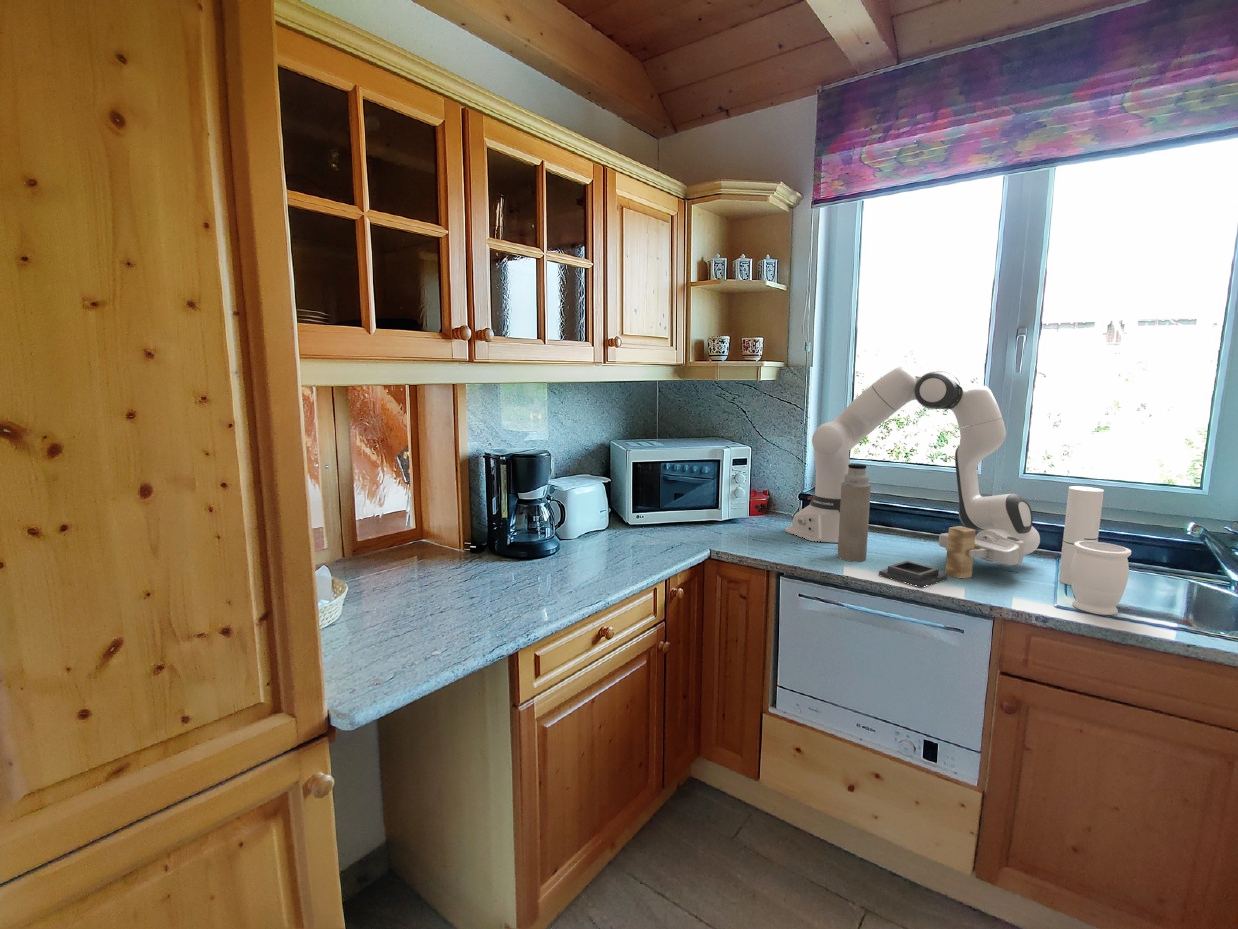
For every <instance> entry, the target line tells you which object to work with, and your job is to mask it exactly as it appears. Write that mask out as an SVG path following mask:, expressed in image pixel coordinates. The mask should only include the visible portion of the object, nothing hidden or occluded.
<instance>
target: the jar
mask: <svg viewBox="0 0 1238 929" xmlns="http://www.w3.org/2000/svg"><path fill="white" fill-rule="evenodd" d="M1074 548H1075V549H1076V552H1075V554H1074V557H1073V560H1072V565H1071V579H1072V585H1071V588H1072V589H1071V590H1072V593H1073V596H1074V597H1075V599H1074V600H1073V601H1072V603H1071V604H1072V606H1073V607H1075V608H1076V609H1078V610H1079V611H1083V612H1085V613H1088V614H1089V613H1090V614H1094V615H1099V616H1100V615H1102V616H1114V615H1117V614H1118V613H1119V611H1118V608H1117V607H1116V606H1117V605H1118V604H1119V603H1120V601H1121V600H1122V598H1123V595H1124V592H1125V590H1126V586H1127V584H1128V581H1129V574H1130V572H1129V571H1130V568H1129V559H1128V558H1129V557H1130V556H1131V555H1132V550H1131V549H1130V548H1127V547H1125V546H1123V545H1122V546H1121V545H1118V544H1113V543H1109V542H1102V541H1098V542H1095V541H1078V542H1075V543H1074Z"/></svg>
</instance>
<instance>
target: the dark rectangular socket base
mask: <svg viewBox="0 0 1238 929" xmlns="http://www.w3.org/2000/svg"><path fill="white" fill-rule="evenodd" d="M939 571H940V569H939V568H935V567H932V566H927V565H925V564H921V563H917V562H913V561H909V560H904V561H901V562H897V563H894V564H890V565H888V566H887V568H884V569H881V570H878V576H880V575H881V576H880V577H884V578H887V579H890V578H892V579H891V580H893V579H894V580H893V581H896V580H897V582H900V583H903V582H906V583H905V584H907V583H909V584H908V585H910V584H912V585H911V586H913V585H917V586H920V587H924V586H926V585H929V586H931V584H932V585H934V583H935V584H937V583H936V582H938V583H940V581H941V582H943V580H944V581H946V580H945V579H947V578H948V575H946V574H945V573H941V572H939ZM917 586H916V587H917ZM920 587H919V588H920ZM926 587H927V586H926ZM924 588H925V587H924Z"/></svg>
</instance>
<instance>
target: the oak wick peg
mask: <svg viewBox="0 0 1238 929" xmlns="http://www.w3.org/2000/svg"><path fill="white" fill-rule="evenodd" d="M947 533H948V545H947V550H946V559H945V571H944V572H945V573H944V574H945V575H947V576H949V575H951V576H950V577H952V576H953V577H952V578H955V577H956V578H955V579H959V578H963V579H968V578H972V575H973V565H974V557H968V556H966V550H968V549H973V550H974V545H975V536H976V530H974V529H970V528H967V527H966V526H961V525H959V526H958V525H957V526H952V527H948V532H947Z"/></svg>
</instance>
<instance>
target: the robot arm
mask: <svg viewBox="0 0 1238 929" xmlns="http://www.w3.org/2000/svg"><path fill="white" fill-rule="evenodd" d="M911 401H917V402H918V403H919V404H920V406H922V407H924V408H928V409H932V410H950V411H951V412H952V413H953V414H954V416H955V419H956V422H957V424H958V426H957V427H958V429H959V433H960V434H959V435H960V441H959V445H958V446H957V448H956V449H955V453H954V463H955V475H956V484H957V492H958V518H959V521H960V522H961V524H962V525H963V527H966V528H970V529H974V530H976V532H977V534H975V545H974V550H973V549H968V550H966V556H968V557H973V558H980V559H982V560H984V561H986V562H988V563H989V562H994V563H997V564H1000V565H1005V566H1014V565H1015V566H1019V565H1022V564H1023V560H1024V556H1026V555H1027V556H1028V555H1029V554H1032V553H1033V552H1034V551H1036V550H1037V549H1038V547H1039V545H1040V543H1041V537H1040V533H1039V532H1038V530H1037V529H1036V528H1035V527H1034V526H1033V520H1034V519H1033V512H1032V508H1031V506H1030V504H1029V503H1028V501H1026V499H1024V498H1023V497H1022V496H1021V495H1019V494H1017V493H1006V494H995V495H990V496H989V495H988V496H982V495H981V494H980V488H979V479H978V478H979V477H978V466H979V465H980V464H981V462H982V461H983V460H984V459H985V458H986V457H988V456H990V455H991V454H993V453H994V452H996V451H997V450H998V449H999V448H1000V447H1001V446H1002V445H1003V443H1004V442H1005V440H1006V436H1007V430H1006V425H1005V422H1004V419H1003V416H1002V413H1001V409H1000V406H999V404H998V402H997V400H996V398H995V396H994V395H993V392H992V390H991V389H990V388H989V387H988V386H985V385H981V384H980V385H979V384H975V385H969V386H962V385H961V383H960V381H959V379H958V378H957V377H956V376H955V375H953V374H952V373H949V372H947V371H943V370H941V371H940V370H939V371H930V372H927V373H925V374H923V375H919V374H918V373H916V372H915V371H914V370H913V369H911V368H910V367H906V366H898V367H896V368H894V369H893V370H891V371H889V372H887V373H886V374H884V375H883V376H881V377H880V378H878V379H877V380H876V381H875V382H873V384H871V385H870V386H868V387H867V388H866V389H865V390H864V391H863V392H862V393H860V394H859V395H858V396H856V398H854V399H853V400H852V401H851V403H849V405H848V406H846V408H845V409H844V410H843V411H842V412H840V414H838V415H837V416H836V417H835V418H834V419H833V420H831V421H827V422H824V423H822V424H820V425H819V426H818V427H817V428H816V429H815V431H814V432H813V434H812V437H811V443H812V447H813V456H814V464H815V489H814V494H812V495H809V496H807V501H808V500H809V501H810V503H809V505H807V506H805V507H804V508H802V509H801V510H800V511H797V512H796V513H795V514H794V516H793V519H792V521H791V522H792V524H791V525H790V526H787V527H785V529H784V532H785V533H788V534H791V535H793V534H794V535H793V536H796V535H797V536H796V537H800V538H802V537H803V538H802V539H804V538H805V539H804V540H806V541H810V542H814V541H815V542H817V541H818V543H820V541H821V542H822V543H823V542H824V543H837V544H838V537H839V520H840V503H841V486H842V482H844V478H845V475H846V474H848V469H849V467H848V465H849V464H851V463H850V450H852V449H854V447H855V446H857V445H858V444H859V443H860V442H862V441H863V440H864V439H865V438H866V437H868V436H869V434H870V433H873V431H874V430H875V429H876V428H878V427H879V426H880V425H881V424H883V422H885V421H886V420H888V419H889V418H890V417H892V416H893V415H894V414H895V413H896V412H897V411H899V410H900V409H902V407H903V406H905V405H906V404H908V403H909V402H910V403H911ZM815 542H814V543H815ZM947 545H948V532H945V533H940V534H939V538H938V546H939V547H942V548H944V549H945V550H946V551H947Z"/></svg>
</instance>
